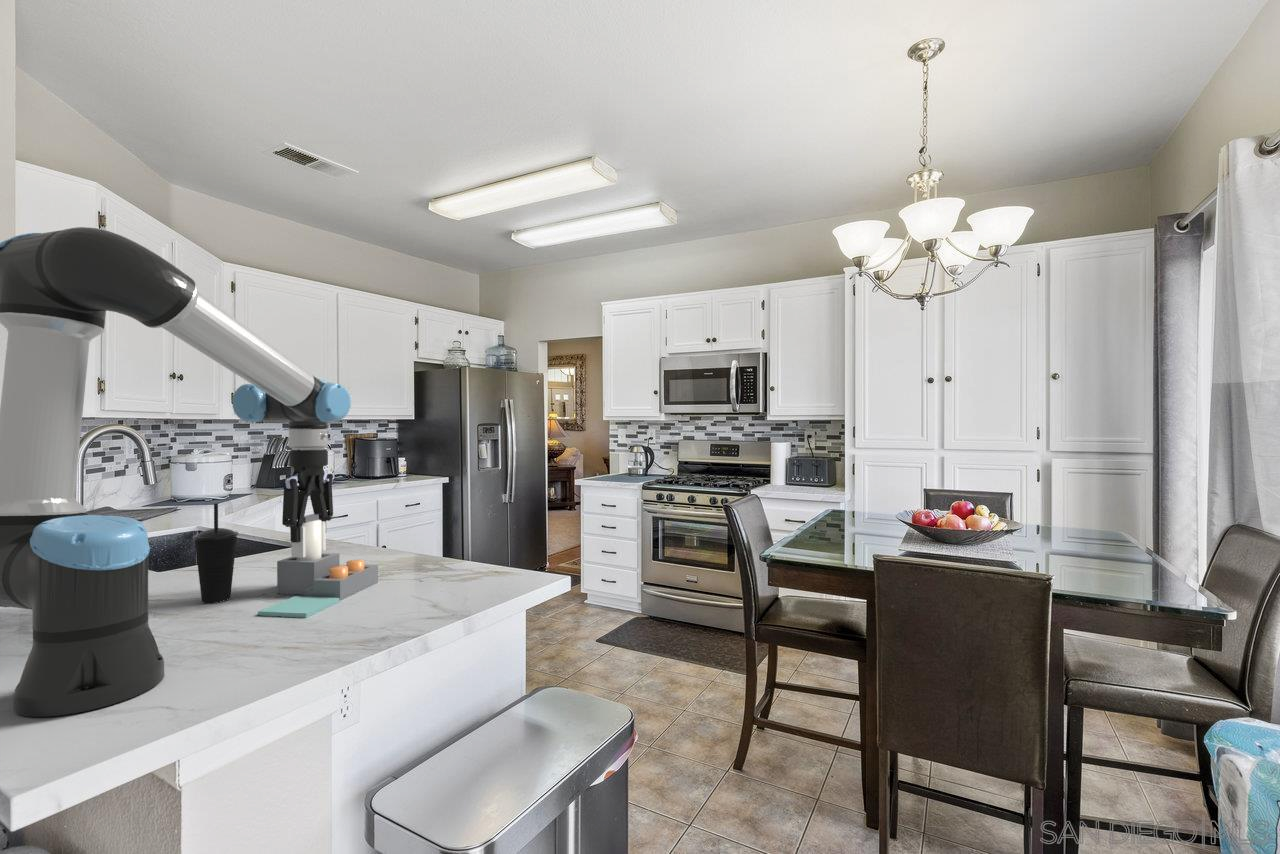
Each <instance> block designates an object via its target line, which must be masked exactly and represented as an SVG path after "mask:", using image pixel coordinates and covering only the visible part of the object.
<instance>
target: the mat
mask: <svg viewBox="0 0 1280 854" xmlns="http://www.w3.org/2000/svg"><path fill="white" fill-rule="evenodd" d="M337 603H340V600H339V598H327V597H306V596H302V595H299V596H297V595H296V596H295V595H294V596H292V597H289V598H287V599H285V600H281V601H280V602H277V603H275V604H272V605H270V606H267V607H265V608H262V609H261V610H258V611H257V616H258V615H261V617H279V616H281V617H282V618H283V617H284V618H303V619H305V618H309V617H311V616H313V615H316V614H317V613H320V612H322V611H324V610H325V609H328V608H329V607H331V606H333V605H336V604H337Z"/></svg>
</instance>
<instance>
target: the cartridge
mask: <svg viewBox="0 0 1280 854" xmlns="http://www.w3.org/2000/svg"><path fill="white" fill-rule="evenodd" d="M302 526H305V544H306V557H297V561H314V560H317V559H320V558H321V553H322V551H321V520H319V514H314V513H312V514H307V515H304V520H303V525H302Z"/></svg>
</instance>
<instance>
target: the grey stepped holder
mask: <svg viewBox="0 0 1280 854" xmlns="http://www.w3.org/2000/svg"><path fill="white" fill-rule="evenodd" d="M335 566H340V553H335V552H333V553H332V552H331V553H329V552H321V558H320V559H317V560H314V561H297V557H292V556H289V557H287V558H284V559H280V560H277V561H276V569H277V570H276V572H277V573H276V577H277V578H276V580H277V581H276V584H277V585H276V587H277V588H276V589H277V590H276V591H277V592H276V593H280V594H279V595H294V594H301V595H300V596H305V597H327V598H339V601H342V600H344V599H346V598H348V597H350V596H353V595H355V594H356V593H359V592H361V591H363V590H365V589H367V588H369V587H371V586H374V585H375V584H378V583H379V565H378V564H364V570H361V571H359V572H357V571H348V576H347V577H345V578H342V579H338V578H329V568H331V567H335Z"/></svg>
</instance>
